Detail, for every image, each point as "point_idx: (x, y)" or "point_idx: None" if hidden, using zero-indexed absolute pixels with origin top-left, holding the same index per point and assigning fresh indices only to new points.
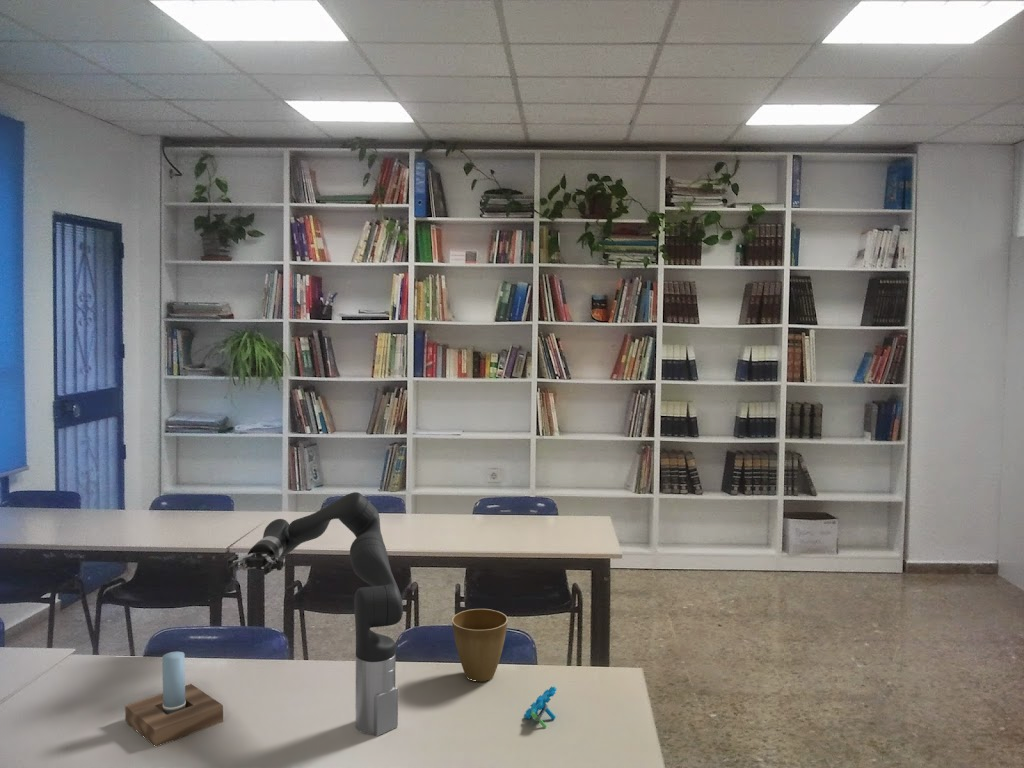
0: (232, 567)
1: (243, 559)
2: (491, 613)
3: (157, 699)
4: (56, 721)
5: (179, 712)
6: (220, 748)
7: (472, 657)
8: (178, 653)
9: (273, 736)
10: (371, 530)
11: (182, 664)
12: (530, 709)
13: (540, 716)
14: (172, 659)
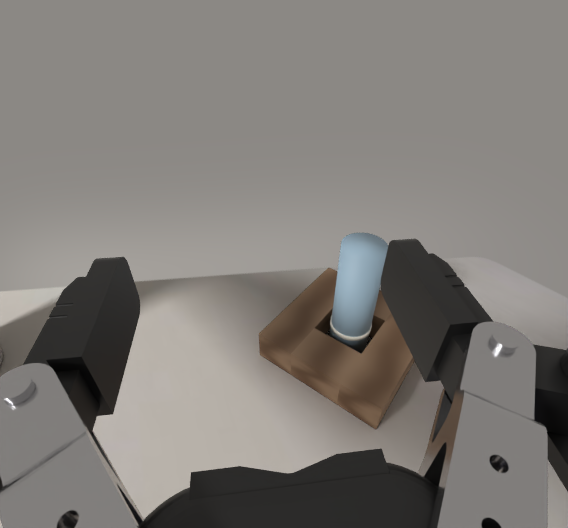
0: (395, 240)
1: (456, 406)
2: None
3: (398, 338)
4: (539, 327)
5: (324, 306)
6: (232, 293)
7: None
8: (361, 253)
9: (157, 324)
10: None
11: (339, 257)
12: None
13: None
14: (353, 234)
